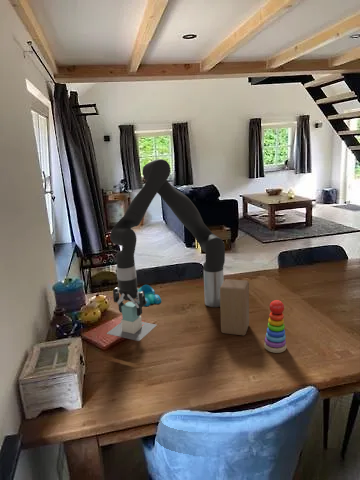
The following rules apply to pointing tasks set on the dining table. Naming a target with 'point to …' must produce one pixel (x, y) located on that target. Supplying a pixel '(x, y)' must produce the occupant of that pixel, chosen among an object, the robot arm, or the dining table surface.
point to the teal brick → (129, 312)
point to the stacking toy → (276, 329)
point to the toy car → (149, 295)
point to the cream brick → (131, 325)
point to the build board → (137, 336)
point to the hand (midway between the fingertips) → (130, 313)
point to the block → (234, 306)
